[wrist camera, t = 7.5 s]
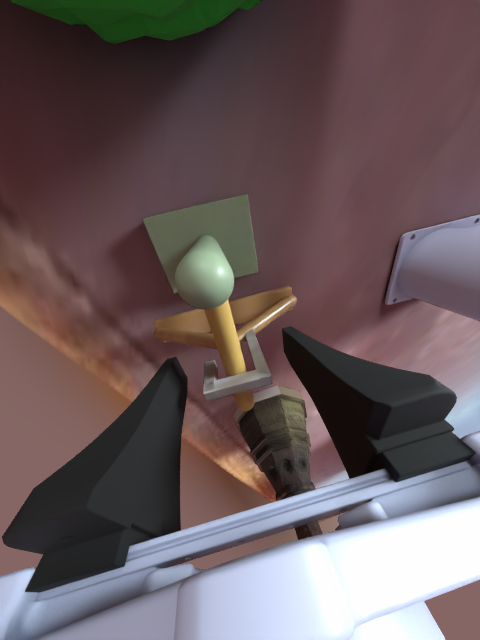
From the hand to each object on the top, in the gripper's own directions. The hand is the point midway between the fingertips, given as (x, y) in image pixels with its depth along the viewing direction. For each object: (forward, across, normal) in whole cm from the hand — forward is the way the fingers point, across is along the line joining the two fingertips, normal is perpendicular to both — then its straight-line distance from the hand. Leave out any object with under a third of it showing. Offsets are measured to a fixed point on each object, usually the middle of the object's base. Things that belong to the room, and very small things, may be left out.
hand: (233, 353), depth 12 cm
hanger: (+6, 0, 0) cm, 6 cm away
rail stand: (+8, 0, -3) cm, 8 cm away
